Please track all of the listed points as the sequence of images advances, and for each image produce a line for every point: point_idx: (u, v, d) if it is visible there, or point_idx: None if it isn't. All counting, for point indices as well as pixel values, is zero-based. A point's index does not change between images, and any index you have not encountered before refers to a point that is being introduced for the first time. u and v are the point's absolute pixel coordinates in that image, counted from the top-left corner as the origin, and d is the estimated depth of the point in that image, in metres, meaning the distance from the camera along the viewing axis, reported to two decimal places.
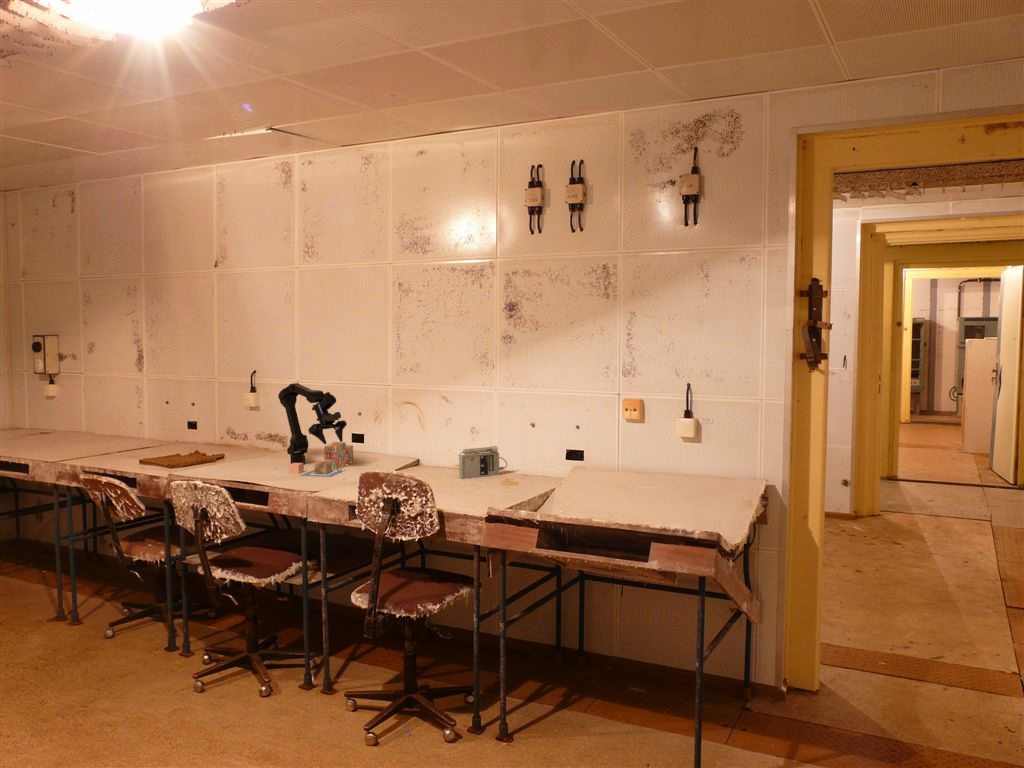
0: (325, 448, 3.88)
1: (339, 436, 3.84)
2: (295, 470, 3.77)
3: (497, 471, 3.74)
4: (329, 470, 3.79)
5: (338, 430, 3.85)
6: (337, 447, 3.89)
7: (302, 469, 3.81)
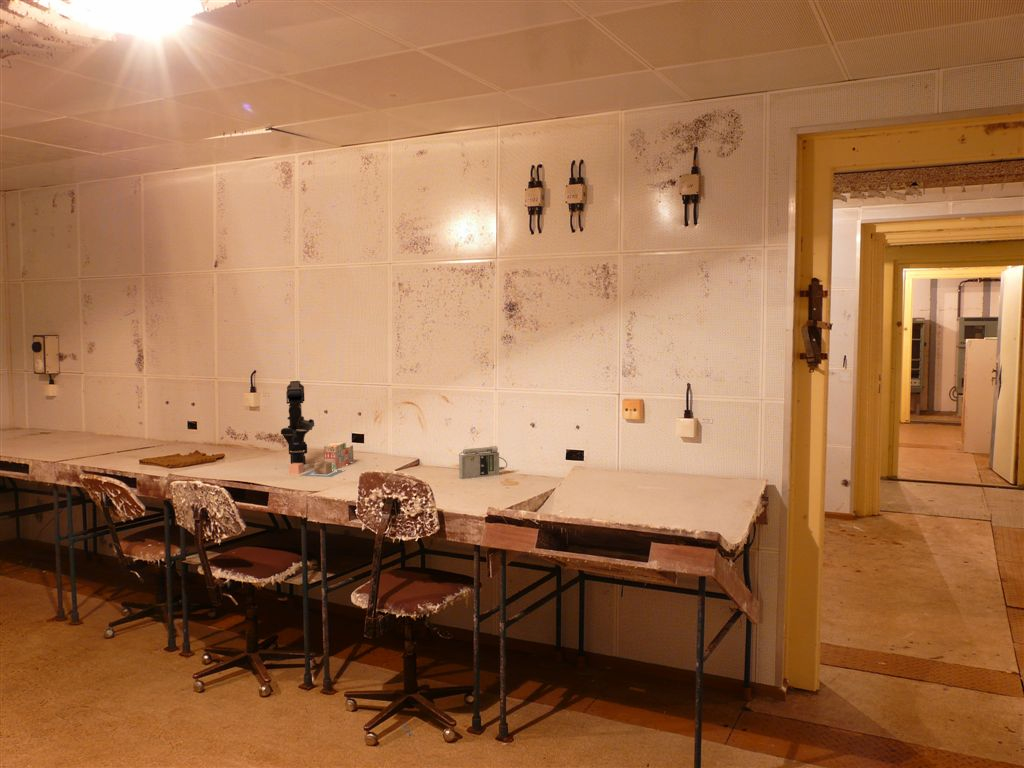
0: (325, 448, 3.88)
1: (300, 439, 3.83)
2: (295, 470, 3.77)
3: (497, 471, 3.74)
4: (329, 470, 3.79)
5: (301, 433, 3.83)
6: (337, 447, 3.89)
7: (302, 469, 3.81)
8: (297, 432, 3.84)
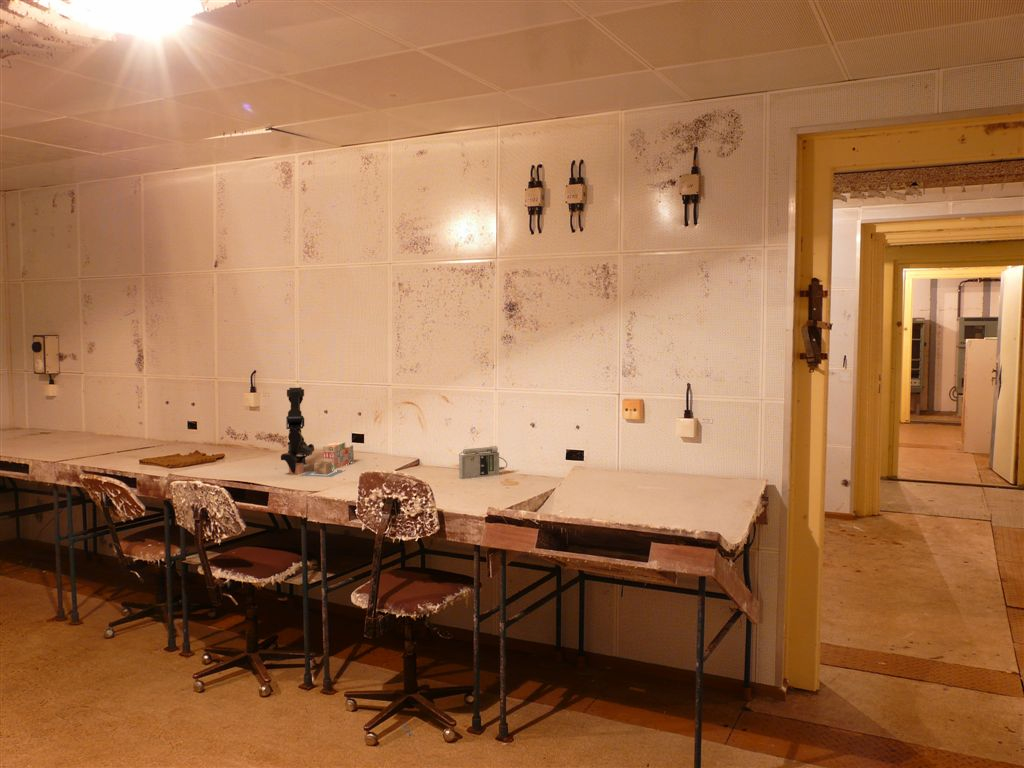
0: (324, 448, 3.89)
1: None
2: (295, 470, 3.77)
3: (497, 471, 3.74)
4: (329, 470, 3.79)
5: (299, 458, 3.82)
6: (336, 447, 3.89)
7: (302, 469, 3.81)
8: (295, 457, 3.83)
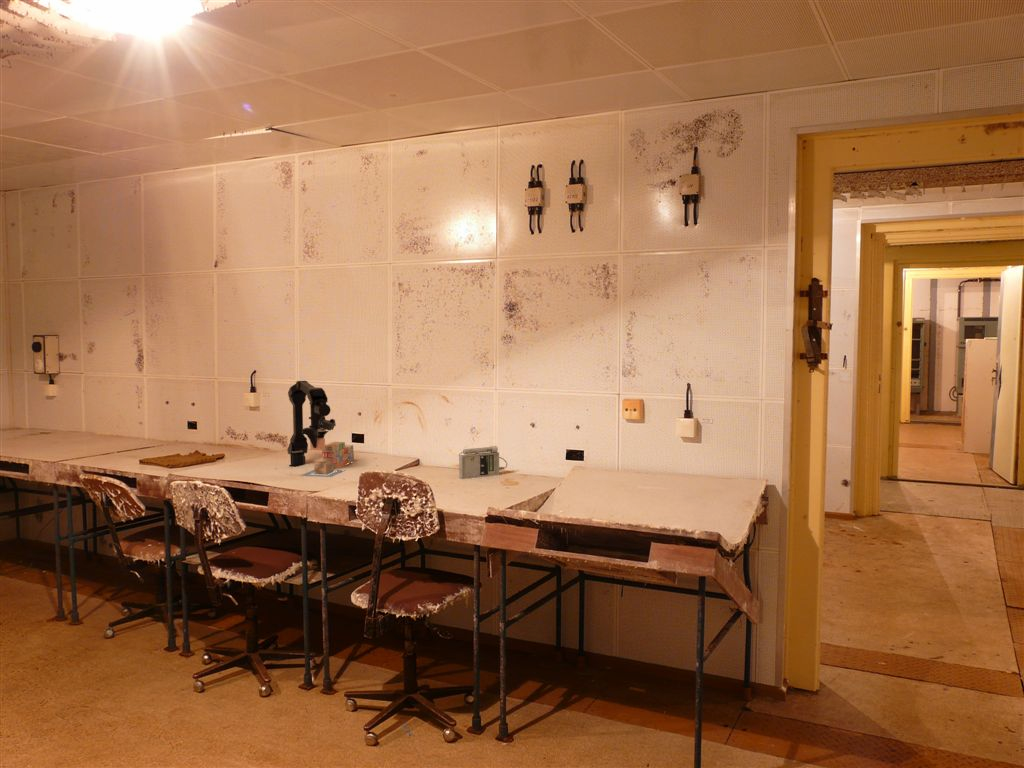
0: None
1: None
2: (317, 445, 3.75)
3: (497, 471, 3.74)
4: (329, 470, 3.79)
5: (321, 433, 3.80)
6: (334, 447, 3.89)
7: (323, 444, 3.78)
8: None
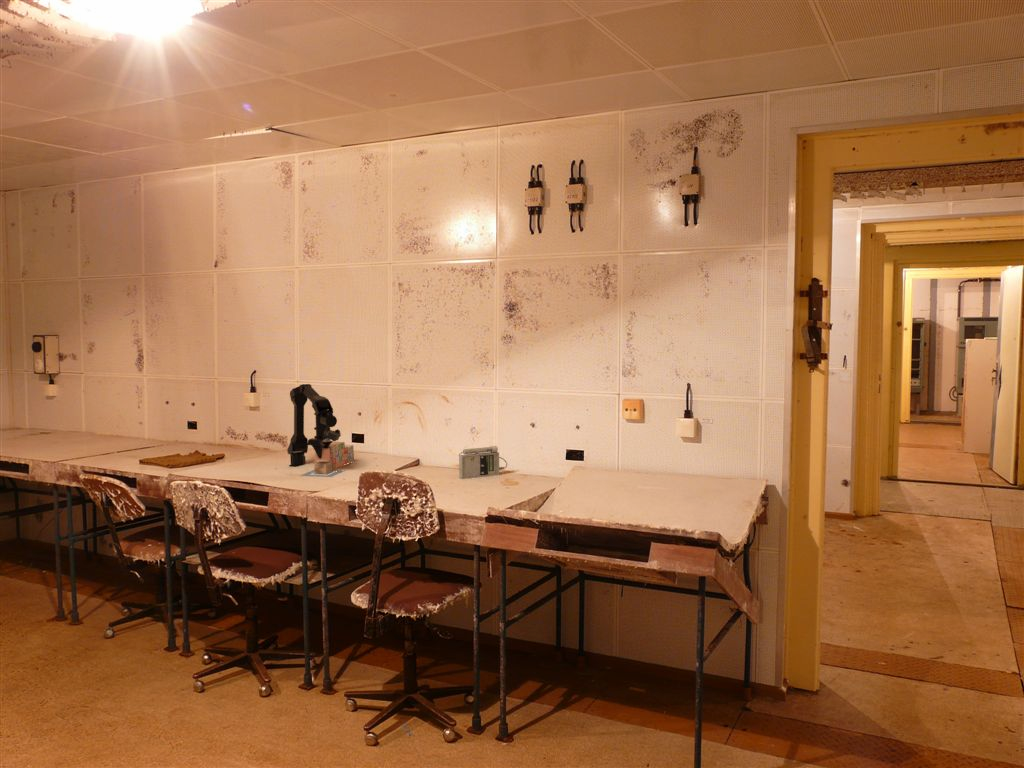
0: None
1: None
2: (322, 455, 3.75)
3: (497, 471, 3.74)
4: (329, 470, 3.79)
5: (325, 444, 3.81)
6: (334, 447, 3.90)
7: (328, 454, 3.79)
8: None
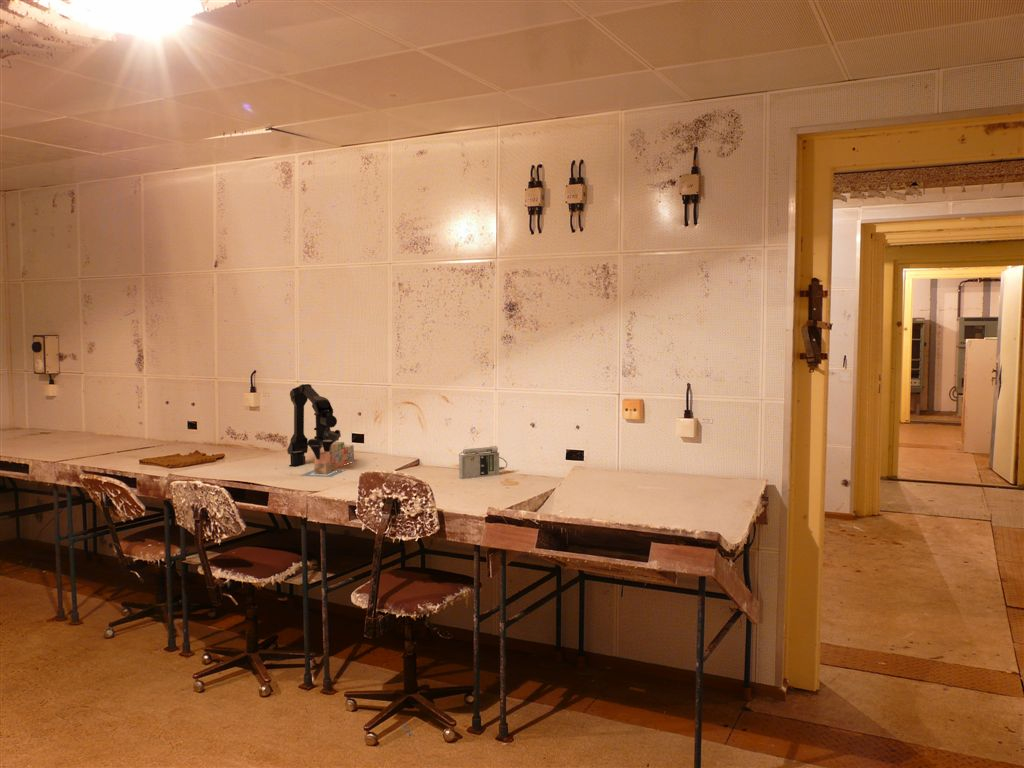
0: None
1: (326, 450, 3.82)
2: (322, 458, 3.76)
3: (497, 471, 3.74)
4: (329, 470, 3.79)
5: (327, 443, 3.83)
6: (333, 447, 3.90)
7: (328, 457, 3.79)
8: (323, 442, 3.83)
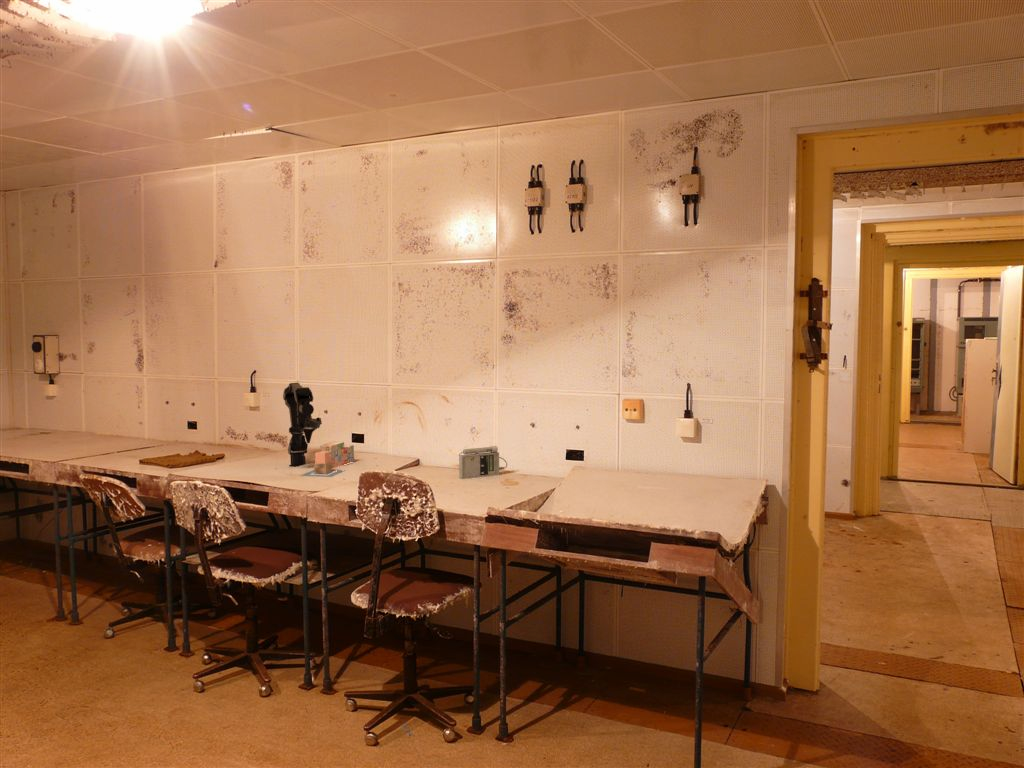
0: (321, 447, 3.90)
1: (308, 437, 3.91)
2: (322, 458, 3.76)
3: (497, 471, 3.74)
4: (329, 470, 3.79)
5: (309, 431, 3.91)
6: (332, 447, 3.90)
7: (328, 457, 3.79)
8: (305, 430, 3.91)
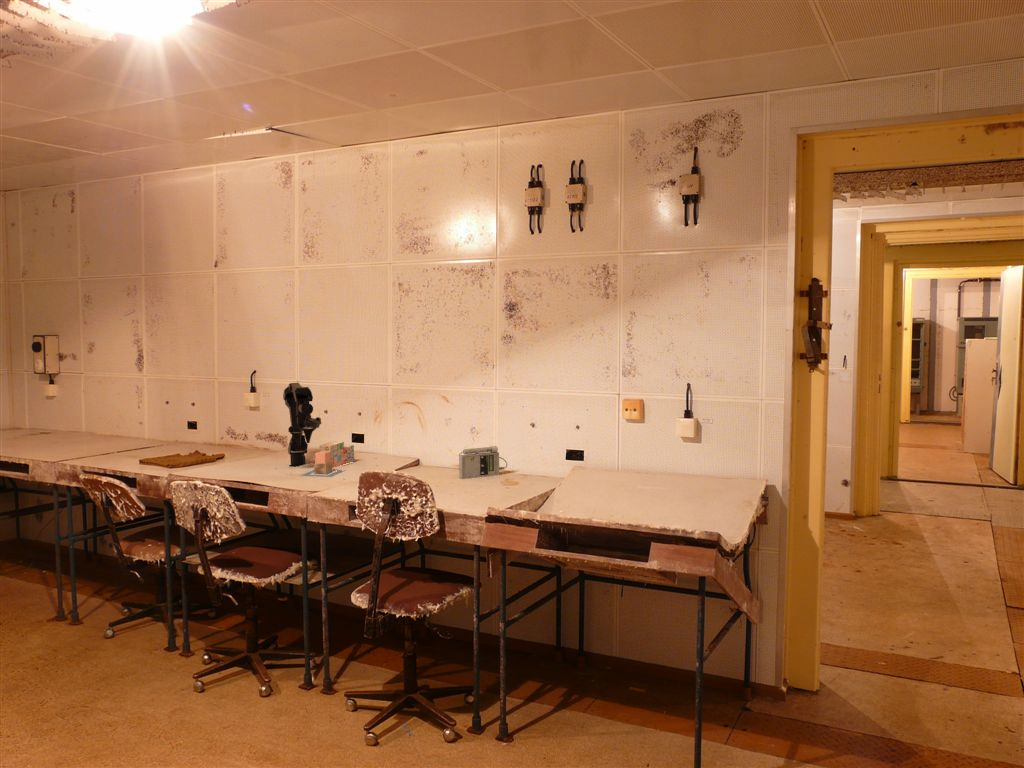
0: (320, 447, 3.91)
1: (307, 437, 3.91)
2: (322, 458, 3.76)
3: (497, 471, 3.74)
4: (329, 470, 3.79)
5: (308, 431, 3.91)
6: (332, 446, 3.90)
7: (328, 457, 3.79)
8: (304, 430, 3.91)
